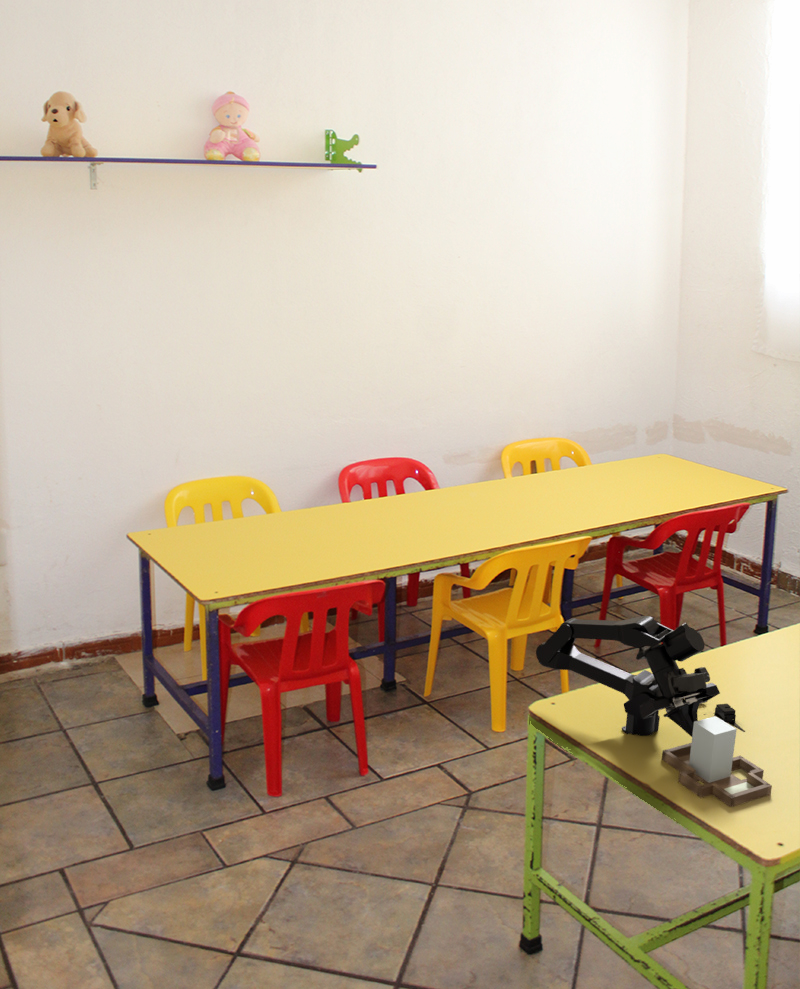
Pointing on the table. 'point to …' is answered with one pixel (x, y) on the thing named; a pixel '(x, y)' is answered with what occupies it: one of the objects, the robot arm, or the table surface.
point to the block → (712, 748)
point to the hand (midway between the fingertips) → (696, 738)
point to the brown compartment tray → (723, 789)
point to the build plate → (726, 714)
